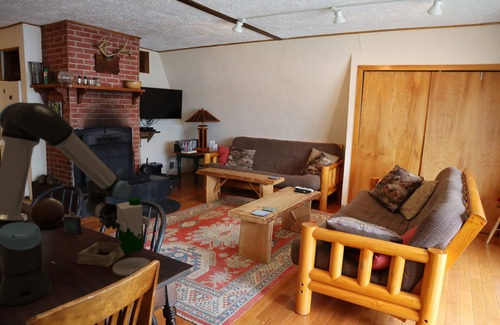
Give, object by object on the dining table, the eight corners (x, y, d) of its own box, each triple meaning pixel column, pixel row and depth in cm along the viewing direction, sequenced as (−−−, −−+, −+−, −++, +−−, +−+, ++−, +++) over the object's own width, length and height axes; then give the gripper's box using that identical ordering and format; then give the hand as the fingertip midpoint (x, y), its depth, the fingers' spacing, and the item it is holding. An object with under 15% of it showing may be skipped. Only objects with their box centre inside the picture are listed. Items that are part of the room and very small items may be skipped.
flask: (63, 233, 175) (61, 212, 173) (67, 231, 177) (66, 210, 176) (79, 235, 172) (78, 214, 171) (83, 233, 175) (82, 212, 174)
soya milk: (146, 250, 137) (144, 200, 134) (122, 255, 132) (119, 204, 129) (140, 242, 145) (137, 195, 141) (117, 247, 140) (113, 198, 136)
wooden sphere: (69, 227, 184) (67, 198, 181) (36, 234, 174) (33, 204, 171) (60, 220, 195) (58, 193, 192) (28, 226, 184) (26, 198, 182)
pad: (138, 277, 131) (138, 275, 131) (105, 273, 134) (104, 271, 134) (156, 261, 145) (156, 259, 145) (125, 258, 148) (125, 256, 148)
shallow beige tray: (108, 266, 140) (107, 257, 139) (78, 263, 143) (77, 253, 142) (126, 253, 153) (126, 244, 152) (99, 250, 155) (98, 241, 155)
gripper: (132, 214, 157) (161, 227, 142) (83, 227, 142) (110, 242, 127) (131, 198, 156) (161, 209, 141) (81, 208, 140) (109, 222, 125)
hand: (137, 224), depth 134 cm, fingers closed on soya milk, 9 cm apart
